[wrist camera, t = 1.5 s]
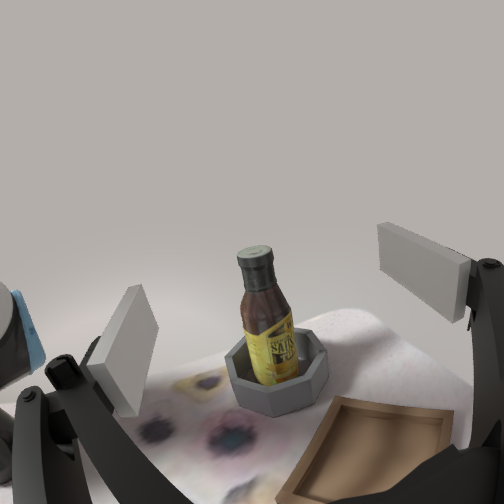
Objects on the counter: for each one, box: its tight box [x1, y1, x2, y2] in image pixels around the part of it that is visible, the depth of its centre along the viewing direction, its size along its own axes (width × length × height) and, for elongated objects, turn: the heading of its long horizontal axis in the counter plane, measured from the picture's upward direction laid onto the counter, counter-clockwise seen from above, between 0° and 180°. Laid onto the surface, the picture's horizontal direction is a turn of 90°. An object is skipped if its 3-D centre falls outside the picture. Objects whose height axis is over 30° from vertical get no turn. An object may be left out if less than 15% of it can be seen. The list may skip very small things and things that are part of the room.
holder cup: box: [225, 328, 329, 417], centre depth 38 cm, size 13×13×5 cm
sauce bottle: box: [237, 245, 299, 387], centre depth 36 cm, size 6×6×20 cm
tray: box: [275, 396, 454, 504], centre depth 22 cm, size 15×15×2 cm
